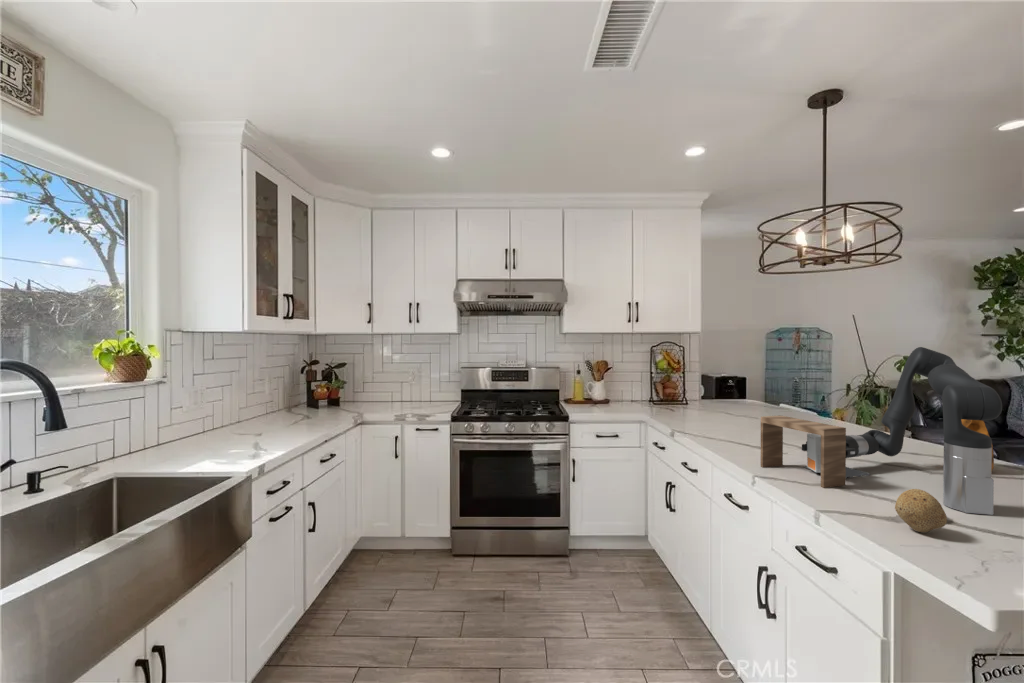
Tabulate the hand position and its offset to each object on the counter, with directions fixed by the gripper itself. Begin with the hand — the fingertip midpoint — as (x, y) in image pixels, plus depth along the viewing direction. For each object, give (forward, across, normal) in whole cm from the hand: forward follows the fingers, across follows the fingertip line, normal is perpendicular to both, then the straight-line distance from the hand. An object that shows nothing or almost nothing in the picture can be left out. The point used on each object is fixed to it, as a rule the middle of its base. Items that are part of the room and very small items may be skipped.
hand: (812, 450), depth 155 cm
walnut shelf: (+6, 0, +8) cm, 10 cm away
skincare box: (-2, 0, +7) cm, 8 cm away
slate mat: (-10, 0, +8) cm, 13 cm away
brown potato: (+18, +42, +8) cm, 46 cm away
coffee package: (-58, +12, +9) cm, 60 cm away
